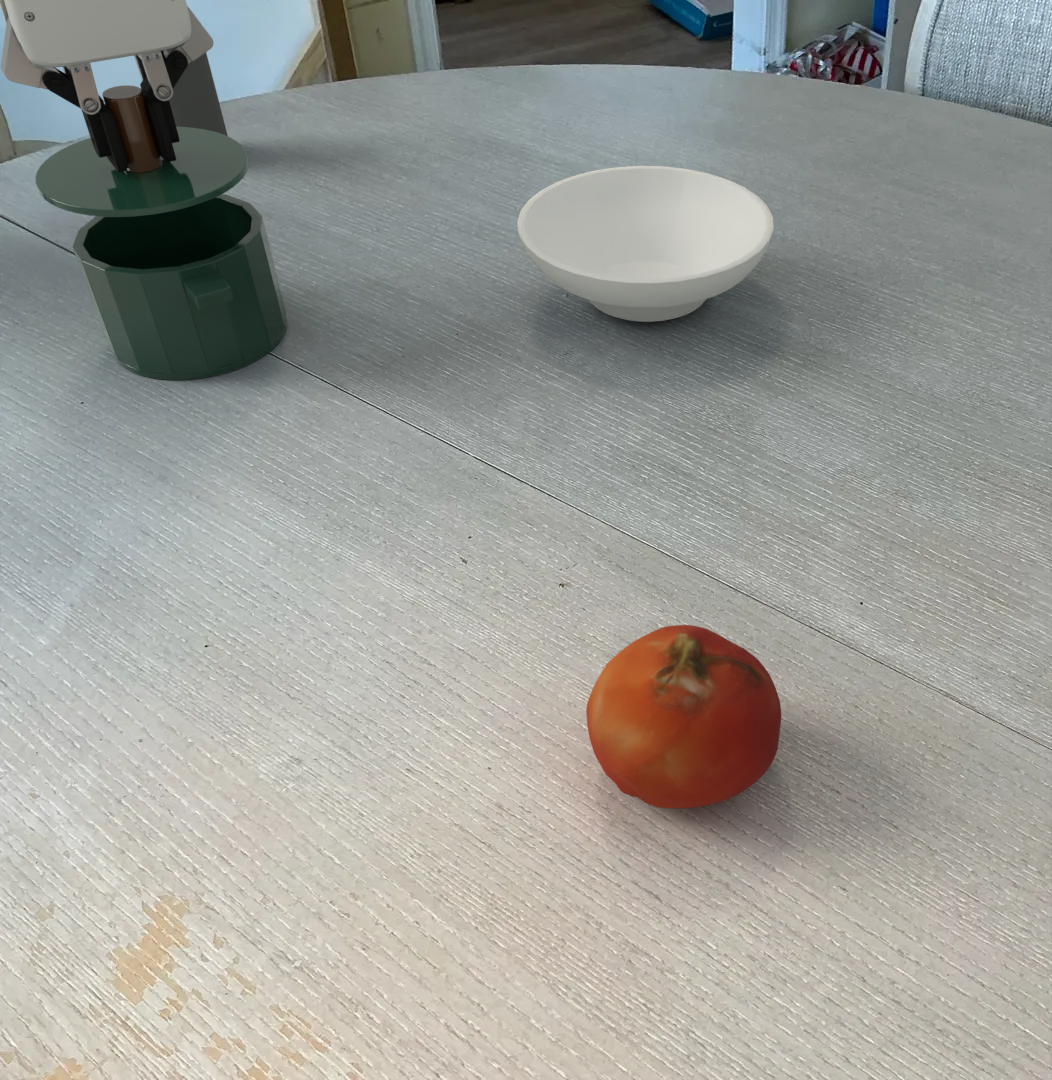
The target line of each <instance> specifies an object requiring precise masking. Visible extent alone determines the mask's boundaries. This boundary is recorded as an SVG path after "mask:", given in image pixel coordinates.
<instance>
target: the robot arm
mask: <svg viewBox="0 0 1052 1080" xmlns="http://www.w3.org/2000/svg"><path fill="white" fill-rule="evenodd" d="M0 10H1V14H2V17H3V19H4V22H5V32H4V37H3V38H4V39H3V47H2V54H1V61H0V70H1V72H2V73H3V75H4V77H6V79H7V80H8V81H9V82H12V83H15V84H19V85H24V86H28V87H31V88H36V89H44V90H48V91H49V92H51V93H53V94H55V95H56V96H57V97H60V98H61V99H63V100H65V101H67V102H68V103H70V104H72V105H73V106H75V107H77V108H79V109H80V110H81V112H82V115H83V118H84V122H85V126H86V129H87V131H88V134H89V138H91V141H92V144H93V147H94V149H95V151H96V153H97V155H98V156H99V158H101V157H106V156H107V158H108V160H109V161H110V162H111V164H112V165H113V166H114V167H115V169H116V170H117V171H118V172H123V171H126V169H127V168H129V166H128V163H127V159H126V156H125V153H124V149H123V146H122V143H121V140H120V136H119V133H118V130H117V126H116V123H115V120H114V117H113V114H112V112H111V111H110V110H109V109H108V107H106V105H105V102H104V99H103V97H101V96H100V95H99V92H98V89H97V84H96V81H95V77H94V72H93V69H92V63H97V62H103V61H109V60H116V59H122V58H127V57H134V60H135V63H136V66H137V70H138V73H139V76H140V78H141V82H140V84H139V86H140V89H141V90H142V92H143V96H144V99H145V103H146V107H147V110H148V114H149V117H150V121H151V124H152V128H153V131H154V135H155V139H156V142H157V146H158V149H159V153H160V156H161V157H162V158H163V159H164V161H165V160H167V161H168V162H171V161H176V156H175V152H174V149H173V145H172V143H176V142H179V141H180V140H179V135H178V131H177V128H176V124H175V120H174V117H173V113H172V109H171V106H170V102H169V100H170V99H171V98H172V96H173V88H174V87H175V85H176V83H177V82H178V80H179V79H180V77H181V76H182V74H183V72H184V71H185V69H186V68H187V66H188V64H189V63H190V62H193V61H195V60H196V59H198V58H199V57H200V56H202V55H203V54H204V53H206V54H207V52H208V51H210V50H211V49H213V47H214V39H213V38H212V35H210V34H209V32H208V31H207V30H206V28H205V27H204V25H203V24H202V23H201V22H200V20H199V19H198V18H197V17H196V15H195V13H194V11H192V9H191V8H190V7H189V6H188V4H187V0H0ZM59 68H62V70H63V71H62V70H61V69H59Z"/></svg>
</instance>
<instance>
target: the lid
mask: <svg viewBox="0 0 1052 1080" xmlns="http://www.w3.org/2000/svg"><path fill="white" fill-rule="evenodd" d="M101 96H102V99H103V101H104V104H105V105H106V107H108V109H109V110H110V111H111V112H112V114H113V117H114V120H115V123H116V126H117V130H118V133H119V136H120V140H121V143H122V146H123V149H124V153H125V156H126V159H127V163H128V166H129V168H127V169H126V171H123V172H118V171H117V170H116V169H115V167H114V166H113V165H112V164H111V162H110V161H109V160H108V158H107V156H106V157H101V158H99V156H98V155H97V153H96V151H95V149H94V147H93V144H92V141H91V138H90V137H89V138H85V139H82V140H80V141H77V142H75V143H72V144H70V145H68V146H66V147H64V148H62V149H59V150H58V151H56V152H55V153H53V154H51V155H50V156H49V157H48V158H47V159H45V160H44V161H43V162H42V163H41V165H40V166H39V167H38V169H37V171H36V174H35V179H34V181H35V186H36V188H37V191H38V193H39V196H41V197H42V198H43V200H44V201H46V202H48V204H50V205H52V206H54V207H56V208H58V209H60V210H63V211H67V212H70V213H74V214H77V215H78V214H79V215H83V216H91V217H92V216H93V217H95V216H101V217H134V216H145V215H153V214H160V213H166V212H171V211H176V210H180V209H184V208H188V207H191V206H194V205H197V204H200V203H203V202H206V201H208V200H211V199H213V198H215V197H217V196H219V195H221V194H225V193H226V192H228V191H230V190H231V189H234V187H235V186H237V185H238V184H239V183H240V182H242V180H243V179H244V177H245V176H246V174H247V173H248V170H249V167H250V166H249V162H250V161H249V157H248V153H247V150H246V148H244V146H243V145H242V144H241V143H240V142H238V141H237V140H236V139H233V138H232V137H231V136H229V135H228V136H226V135H223V134H220V133H217V132H214V131H209V130H204V129H198V128H190V127H176V128H177V131H178V135H179V140H180V141H179V142H176V143H172V145H173V149H174V152H175V156H176V161H171V162H168V161H167V160H165V161H164V159H163V158H162V157H161V156H160V153H159V149H158V146H157V142H156V139H155V135H154V131H153V128H152V124H151V121H150V117H149V114H148V110H147V107H146V103H145V99H144V96H143V92H142V90H141V87H139V86H135V85H130V84H129V85H124V84H123V85H116V86H112V87H110V88H107V89H105V90H104V91H103V92H102V95H101Z"/></svg>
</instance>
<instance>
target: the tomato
mask: <svg viewBox="0 0 1052 1080" xmlns="http://www.w3.org/2000/svg"><path fill="white" fill-rule="evenodd" d="M781 706H782V705H781V700H780V697H779V694H778V690H777V689H776V686H775V683H774V681H773V679H772V676H771V674H770V673H769V671H768V670H767V668H765V666H764V664H762V663H761V661H760V660H759V659H758V658H757V657H756V656H755V655H754V654H752V653H751V652H749V650H747V649H746V648H744V647H742V646H740V645H738V644H736V643H735V642H733V641H730V640H729V639H727V638H725V637H723V636H722V635H720V634H718V633H717V632H715V631H712V630H710V629H708V628H705V627H701V626H697V625H692V624H691V625H690V624H676V625H668V626H663V627H660V628H657V629H656V630H653V631H651V632H649V633H647V634H645V635H643V636H641V637H639V638H637V639H635V640H634V641H632V642H631V643H629V644H628V645H627V646H625V647H624V648H623V649H621V650H620V651H619V652H618V653H617V654H616V655H614V656H613V657H612V658H611V659H610V660H609V661H608V662H607V663H606V664H605V666H604V668H603V669H602V671H601V672H600V674H599V676H598V677H597V679H596V681H595V683H594V686H593V688H592V690H591V692H590V693H589V697H588V699H587V703H586V710H585V715H586V725H587V732H588V738H589V741H590V745H591V747H592V751H593V754H594V756H595V758H596V760H597V762H598V764H599V765H600V766H601V769H602V771H603V773H605V775H606V776H607V778H609V779H610V781H612V782H614V784H615V785H616V786H617V788H618V789H619V791H620V792H622V793H623V794H625V795H627V796H630V797H632V798H638V799H639V800H641V802H643V803H645V804H647V805H649V806H651V807H654V808H659V809H679V810H681V809H691V808H693V809H694V808H699V807H704V806H709V805H712V804H717V803H721V802H724V801H728V800H729V799H731V798H733V797H735V796H737V795H739V794H740V793H743V792H744V791H745V790H748V789H749V788H750V787H751V786H753V785H754V784H756V782H758V781H759V780H760V778H762V777H763V776H764V775H765V774H766V773H767V771H768V770H769V768H770V767H771V766H772V764H773V761H774V760H775V758H776V755H777V752H778V750H779V740H780V735H781V725H782V724H781V723H782V707H781Z"/></svg>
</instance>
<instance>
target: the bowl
mask: <svg viewBox="0 0 1052 1080" xmlns="http://www.w3.org/2000/svg"><path fill="white" fill-rule="evenodd" d="M516 224H517V230H518V232H517V233H518V236H519V239H520V242H521V244H522V246H523V248H524V249H525V251H526V253H527V255H528V256H529V258H530V260H531V262H532V264H534V266H535V267H536V268H538V269H539V271H540V272H541V273H542V274H543V275H544V276H546V277H547V279H549V280H550V281H551V282H552V283H553V284H554V285H556V286H557V287H559V288H560V289H563V290H564V291H565V292H568V293H570V294H571V295H575V296H577V297H580V298H582V299H585V300H588V301H589V302H590V304H592V306H593V307H595V308H596V309H597V310H599V311H600V312H602V313H604V314H606V315H608V316H611V317H613V318H617V319H622V320H625V321H633V322H643V323H645V322H647V323H651V322H662V321H668V320H675V319H677V318H680V317H683V316H686V315H688V314H690V313H692V312H694V311H696V310H697V309H699V308H701V306H702V305H703V304H704V303H705V301H707V300H708V299H710V298H713V297H716V296H718V295H720V294H723V293H725V292H727V291H729V290H731V289H733V288H734V287H735V286H736V285H738V284H739V283H740V282H742V281H743V280H744V279H746V277H747V276H748V275H749V274H750V273H751V272H752V271H753V270H754V269H755V267H756V266H757V265H758V264H759V263H760V262H761V260H762V259H763V258H764V255H765V253H766V252H767V250H768V247H769V244H770V242H771V239H772V236H773V233H774V227H775V226H774V217H773V215H772V212H771V210H770V208H769V206H768V205H767V204H766V203H765V202H764V201H763V200H762V199H761V198H760V197H759V195H757V194H756V193H754V192H752V191H751V190H749V189H748V188H746V187H745V186H743V185H740V184H738V183H736V182H734V181H732V180H730V179H728V178H724V177H721V176H718V175H715V174H713V173H712V174H711V173H708V172H704V171H699V170H693V169H689V168H682V167H673V166H663V165H631V166H616V167H609V168H601V169H595V170H592V171H586V172H584V173H579V174H576V175H573V176H570V177H567V178H564V179H561V180H559V181H556V182H554V183H552V184H551V185H549V186H547V187H545V188H543V189H541V190H540V191H538V192H536V194H535V195H533V196H532V197H530V198H529V199H528V201H526V203H525V204H524V206H523V207H522V209H521V210H520V212H519V215H518V218H517V221H516Z"/></svg>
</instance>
